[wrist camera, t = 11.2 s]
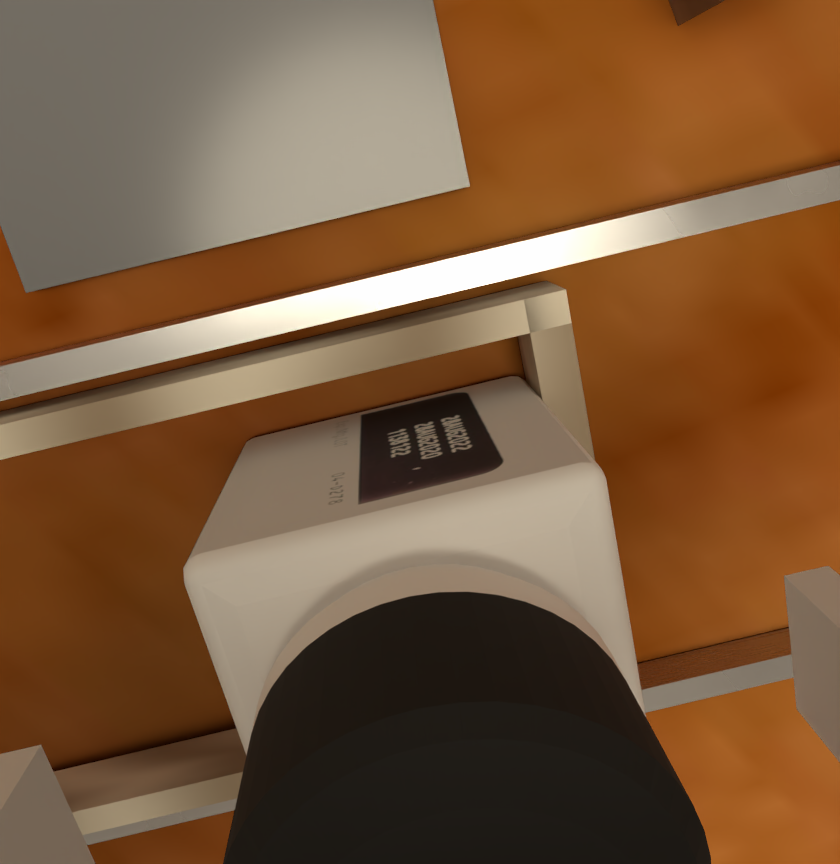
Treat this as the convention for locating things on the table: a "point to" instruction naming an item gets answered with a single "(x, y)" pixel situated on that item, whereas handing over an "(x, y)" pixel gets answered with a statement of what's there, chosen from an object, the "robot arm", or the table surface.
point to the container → (432, 645)
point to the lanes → (440, 276)
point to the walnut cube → (690, 8)
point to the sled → (250, 379)
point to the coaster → (210, 124)
